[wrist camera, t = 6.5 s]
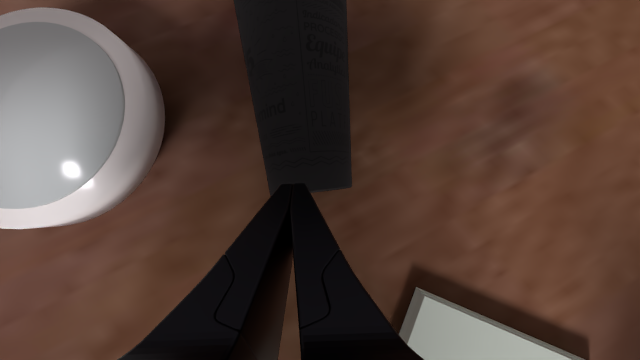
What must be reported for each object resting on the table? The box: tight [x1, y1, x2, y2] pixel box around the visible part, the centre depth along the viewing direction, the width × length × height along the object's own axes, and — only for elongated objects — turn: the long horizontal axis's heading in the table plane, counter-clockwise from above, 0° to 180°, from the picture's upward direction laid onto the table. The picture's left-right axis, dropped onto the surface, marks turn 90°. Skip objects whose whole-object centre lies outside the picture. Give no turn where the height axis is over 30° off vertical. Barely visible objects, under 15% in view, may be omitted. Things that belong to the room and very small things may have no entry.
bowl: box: [0, 8, 165, 229], centre depth 16 cm, size 12×12×5 cm
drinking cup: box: [234, 0, 352, 196], centre depth 16 cm, size 8×8×20 cm
